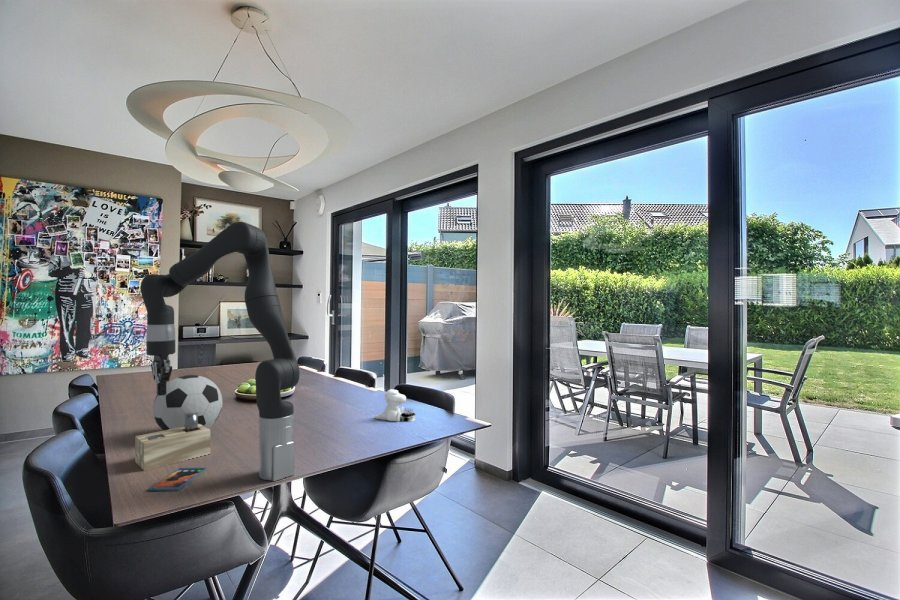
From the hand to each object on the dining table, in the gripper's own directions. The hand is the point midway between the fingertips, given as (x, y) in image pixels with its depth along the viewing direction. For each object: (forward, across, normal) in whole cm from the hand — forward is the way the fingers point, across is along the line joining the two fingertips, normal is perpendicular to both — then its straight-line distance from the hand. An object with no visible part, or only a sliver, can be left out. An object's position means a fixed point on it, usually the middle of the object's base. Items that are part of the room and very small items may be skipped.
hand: (161, 394), depth 134 cm
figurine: (+21, -19, -79) cm, 84 cm away
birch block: (+21, 0, -3) cm, 21 cm away
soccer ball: (+21, +22, -15) cm, 34 cm away
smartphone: (+22, -18, +1) cm, 28 cm away
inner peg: (+15, 0, -8) cm, 17 cm away
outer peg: (+20, +1, +2) cm, 20 cm away
